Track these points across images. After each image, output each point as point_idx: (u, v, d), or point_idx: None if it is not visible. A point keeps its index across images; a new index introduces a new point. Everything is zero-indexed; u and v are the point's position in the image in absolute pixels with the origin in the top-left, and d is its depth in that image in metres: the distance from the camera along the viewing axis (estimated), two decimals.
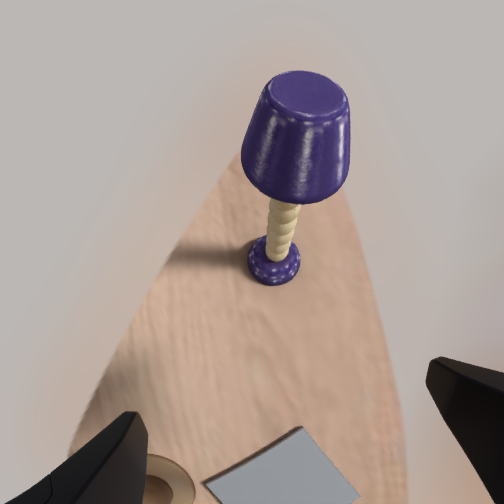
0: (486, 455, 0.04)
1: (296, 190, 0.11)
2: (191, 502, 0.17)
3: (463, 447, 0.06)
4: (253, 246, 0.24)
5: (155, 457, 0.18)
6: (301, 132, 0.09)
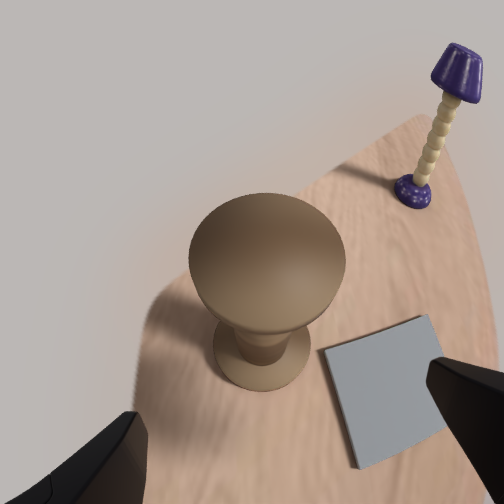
0: (486, 455, 0.04)
1: (461, 87, 0.15)
2: (302, 366, 0.18)
3: (463, 447, 0.06)
4: (401, 177, 0.28)
5: None
6: (466, 58, 0.14)
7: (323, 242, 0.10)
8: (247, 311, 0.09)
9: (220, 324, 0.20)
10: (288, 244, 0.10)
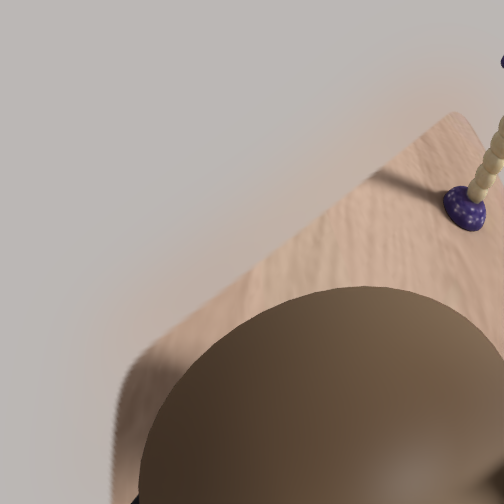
0: None
1: None
2: None
3: None
4: (452, 189, 0.20)
5: None
6: None
7: (494, 427, 0.02)
8: None
9: None
10: (426, 458, 0.02)
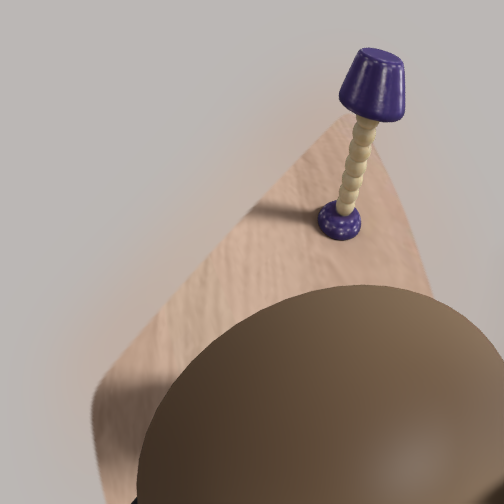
0: None
1: (376, 107, 0.15)
2: None
3: None
4: (324, 206, 0.28)
5: None
6: (380, 68, 0.14)
7: (493, 426, 0.02)
8: None
9: None
10: (425, 457, 0.02)
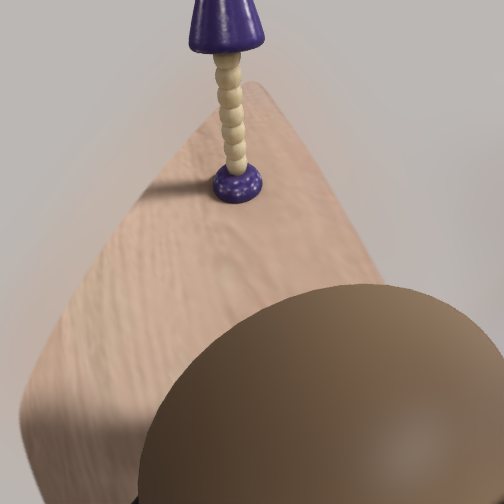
0: None
1: (222, 38, 0.13)
2: None
3: None
4: (217, 172, 0.25)
5: None
6: None
7: (494, 425, 0.02)
8: None
9: None
10: (427, 456, 0.02)
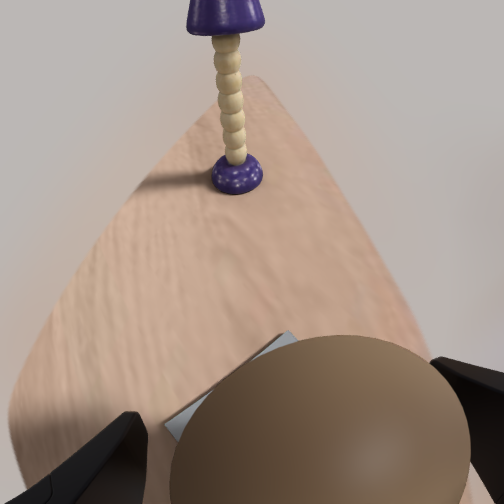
0: (486, 455, 0.04)
1: (221, 19, 0.12)
2: None
3: None
4: (216, 162, 0.24)
5: None
6: None
7: (442, 445, 0.03)
8: None
9: None
10: (381, 465, 0.03)
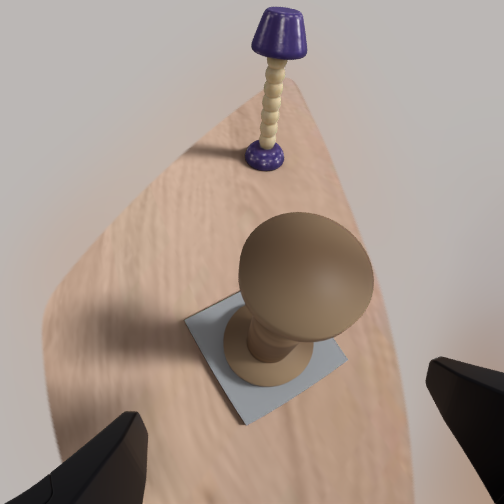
0: (486, 455, 0.04)
1: (277, 48, 0.19)
2: (302, 369, 0.20)
3: (463, 447, 0.06)
4: (250, 144, 0.31)
5: None
6: (279, 18, 0.17)
7: (357, 268, 0.11)
8: (288, 319, 0.10)
9: (232, 318, 0.21)
10: (328, 265, 0.11)
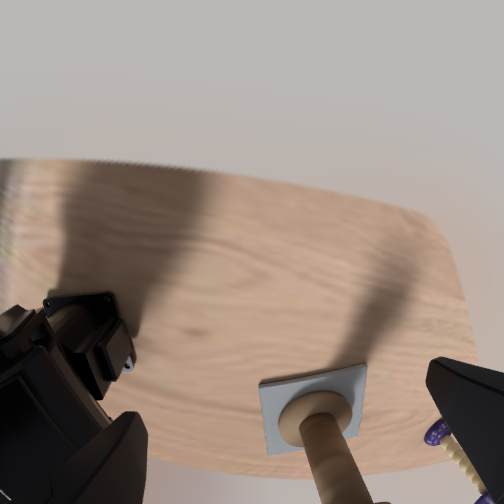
0: (486, 455, 0.04)
1: (488, 498, 0.13)
2: (283, 438, 0.22)
3: (463, 447, 0.06)
4: None
5: None
6: None
7: None
8: None
9: (348, 406, 0.22)
10: None
